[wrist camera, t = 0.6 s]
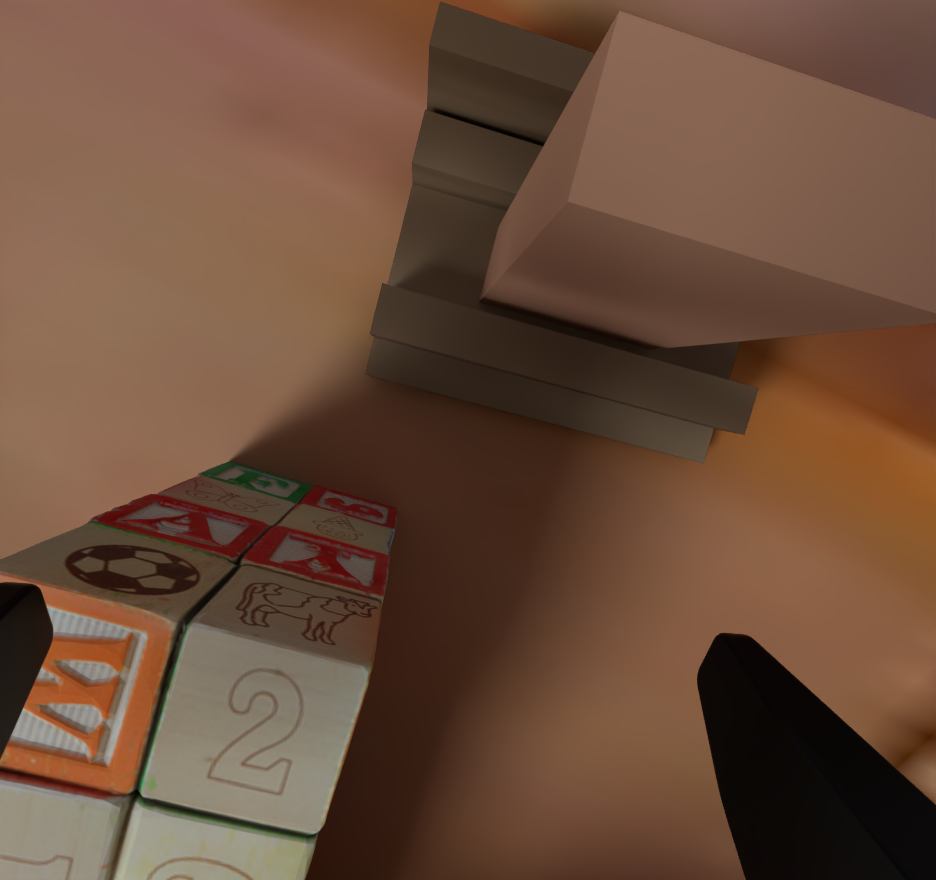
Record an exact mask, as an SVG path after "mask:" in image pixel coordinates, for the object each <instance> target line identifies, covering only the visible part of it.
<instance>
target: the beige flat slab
mask: <svg viewBox="0 0 936 880" xmlns="http://www.w3.org/2000/svg"><path fill="white" fill-rule="evenodd" d="M479 302H481V303H485V304H488V305H492V306H495V307H499V308H503V309H506V310H510V311H513V312H517V313H520V314H524V315H527V316H531V317H535V318H538V319H542V320H545V321H549V322H552V323H556V324H560V325H563V326H567V327H570V328H574V329H577V330H581V331H584V332H588V333H592V334H595V335H599V336H602V337H606V338H609V339H613V340H616V341H620V342H624V343H627V344H631V345H634V346H638V347H641V348H645V349H649V350H653V349H663V348H674V347H685V346H696V345H706V344H717V343H728V342H739V341H749V340H760V339H771V338H782V337H792V336H803V335H814V334H825V333H836V332H846V331H857V330H868V329H879V328H889V327H900V326H911V325H922V324H932V323H936V119H935V118H932V117H929V116H926V115H923V114H920V113H917V112H914V111H911V110H908V109H905V108H902V107H899V106H897V105H894V104H891V103H888V102H885V101H882V100H879V99H876V98H873V97H870V96H867V95H864V94H861V93H859V92H856V91H853V90H850V89H847V88H844V87H841V86H838V85H835V84H832V83H829V82H826V81H823V80H821V79H818V78H815V77H812V76H809V75H806V74H803V73H800V72H797V71H794V70H791V69H788V68H786V67H783V66H780V65H777V64H774V63H771V62H768V61H765V60H762V59H759V58H756V57H753V56H750V55H748V54H745V53H742V52H739V51H736V50H733V49H730V48H727V47H724V46H721V45H718V44H715V43H712V42H710V41H707V40H704V39H701V38H698V37H695V36H692V35H689V34H686V33H683V32H680V31H677V30H675V29H672V28H669V27H666V26H663V25H660V24H657V23H654V22H651V21H648V20H645V19H642V18H639V17H637V16H634V15H631V14H628V13H625V12H622V11H619V12H618V14H617V16H616V17H615V19H614V21H613V23H612V25H611V26H610V28H609V30H608V32H607V33H606V35H605V37H604V39H603V41H602V42H601V44H600V46H599V48H598V50H597V51H596V53H595V55H594V57H593V59H592V60H591V62H590V64H589V66H588V67H587V69H586V71H585V73H584V75H583V76H582V78H581V80H580V82H579V84H578V85H577V87H576V89H575V91H574V93H573V94H572V96H571V98H570V100H569V101H568V103H567V105H566V107H565V109H564V110H563V112H562V114H561V116H560V118H559V119H558V121H557V123H556V125H555V127H554V128H553V130H552V132H551V134H550V135H549V137H548V139H547V141H546V143H545V144H544V146H543V148H542V150H541V152H540V153H539V155H538V157H537V159H536V161H535V162H534V164H533V166H532V168H531V169H530V171H529V173H528V175H527V177H526V178H525V180H524V182H523V184H522V186H521V187H520V189H519V191H518V193H517V195H516V196H515V198H514V200H513V202H512V203H511V205H510V207H509V209H508V211H507V212H506V214H505V216H504V218H503V220H502V221H501V223H500V225H499V227H498V231H497V235H496V239H495V243H494V247H493V250H492V254H491V258H490V262H489V266H488V269H487V273H486V277H485V281H484V285H483V289H482V292H481V296H480V300H479Z"/></svg>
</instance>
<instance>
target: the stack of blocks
mask: <svg viewBox="0 0 936 880" xmlns="http://www.w3.org/2000/svg"><path fill="white" fill-rule="evenodd" d="M397 515H398V510H397V509H395V508H393V507H389V506H385V505H382V504H378V503H375V502H372V501H368V500H365V499H361V498H358V497H354V496H351V495H347V494H344V493H340V492H337V491H333V490H329V489H326V488H323V487H320V486H311V485H307V484H304V483H301V482H297V481H294V480H290V479H287V478H284V477H280V476H277V475H273V474H270V473H267V472H263V471H260V470H256V469H253V468H249V467H246V466H243V465H240V464H237V463H233V462H227V463H224V464H221V465H218V466H216V467H213V468H211V469H208V470H206V471H204V472H202V473H199V474H198V475H197V476H196V477H194V478H192V479H189V480H187V481H184V482H182V483H179V484H177V485H174V486H172V487H170V488H168V489H165V490H163V491H161V492H159V493H158V494H150V495H147V496H144V497H141V498H139V499H136V500H132V501H131V502H130V503H129V504H126V505H123V506H120V507H116V508H113V509H112V510H111V511H108V512H105V513H103V514H100V515H98V516H95V517H93V518H92V519H91V520H90V521H89V522H88V523H87V524H85V525H83V526H81V527H79V528H76V529H74V530H71V531H69V532H66V533H63V534H61V535H58V536H56V537H53V538H51V539H48V540H46V541H43V542H41V543H39V544H36V545H34V546H32V547H29V548H27V549H25V550H22V551H20V552H18V553H15V554H13V555H11V556H8V557H6V558H3V559H0V583H2V582H17V583H31V584H35V585H37V586H38V587H39V588H40V589H41V591H42V594H43V597H44V600H45V603H46V606H47V609H48V612H49V615H50V618H51V621H52V624H53V640H52V644H51V647H50V649H49V651H48V654H47V656H46V658H45V660H44V663H43V665H42V667H41V669H40V672H39V674H38V676H37V679H36V681H35V683H34V685H33V688H32V690H31V692H30V694H29V697H28V699H27V701H26V703H25V706H24V708H23V710H22V713H21V715H20V717H19V719H18V722H17V724H16V726H15V728H14V731H13V733H12V735H11V737H10V740H9V742H8V744H7V746H6V748H5V751H4V753H3V755H2V757H1V759H0V880H305V879H306V876H307V872H308V869H309V866H310V863H311V860H312V857H313V853H314V850H315V846H316V841H317V837H318V832H319V831H320V830H321V829H322V827H323V826H324V824H325V821H326V818H327V815H328V812H329V808H330V805H331V802H332V799H333V796H334V793H335V789H336V786H337V783H338V780H339V777H340V774H341V770H342V767H343V764H344V761H345V758H346V755H347V752H348V749H349V745H350V742H351V739H352V736H353V733H354V730H355V727H356V724H357V721H358V717H359V714H360V711H361V708H362V704H363V701H364V698H365V695H366V691H367V688H368V685H369V681H370V677H371V673H372V669H373V666H374V659H375V653H376V646H377V638H378V632H379V627H380V619H381V607H382V604H383V600H384V597H385V591H386V586H387V581H388V572H389V564H390V556H389V555H390V548H391V545H392V542H393V538H394V535H395V529H396V520H397Z"/></svg>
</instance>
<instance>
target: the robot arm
mask: <svg viewBox="0 0 936 880" xmlns="http://www.w3.org/2000/svg"><path fill="white" fill-rule="evenodd" d="M52 640H53V624H52V621H51V618H50V615H49V612H48V609H47V606H46V603H45V600H44V597H43V594H42V591H41V589H40V588H39V587H38V586H37V585H35V584H31V583H17V582H2V583H0V759H1V757H2V755H3V753H4V751H5V748H6V746H7V744H8V742H9V740H10V737H11V735H12V733H13V731H14V728H15V726H16V724H17V722H18V719H19V717H20V715H21V713H22V710H23V708H24V706H25V703H26V701H27V699H28V697H29V694H30V692H31V690H32V688H33V685H34V683H35V681H36V679H37V676H38V674H39V672H40V669H41V667H42V665H43V663H44V660H45V658H46V656H47V654H48V651H49V649H50V647H51V644H52ZM697 685H698V691H699V696H700V701H701V706H702V711H703V716H704V720H705V725H706V730H707V735H708V740H709V745H710V750H711V755H712V760H713V764H714V769H715V774H716V779H717V783H718V788H719V792H720V796H721V800H722V803H723V807H724V810H725V814H726V817H727V821H728V824H729V827H730V830H731V833H732V837H733V840H734V843H735V846H736V850H737V853H738V856H739V859H740V863H741V866H742V869H743V872H744V875H745V879H746V880H936V805H935V804H934V803H933V802H932V801H931V800H930V799H929V798H928V797H927V796H925V795H924V794H923V793H922V792H921V791H920V790H919V789H918V788H917V787H916V786H915V785H913V784H912V783H911V782H910V781H909V780H908V779H907V778H906V777H905V776H904V775H902V774H901V773H900V772H899V771H898V770H897V769H896V768H895V767H894V766H893V765H891V764H890V763H889V762H888V761H887V760H886V759H885V758H884V757H883V756H882V755H880V754H879V753H878V752H877V751H876V750H875V749H874V748H873V747H872V746H871V745H869V744H868V743H867V742H866V741H865V740H864V739H863V738H862V737H861V736H860V735H858V734H857V733H856V732H855V731H854V730H853V729H852V728H851V727H850V726H849V725H848V724H846V723H845V722H844V721H843V720H842V719H841V718H840V717H839V716H838V715H837V714H835V713H834V712H833V711H832V710H831V709H830V708H829V707H828V706H827V705H826V704H824V703H823V702H822V701H821V700H820V699H819V698H818V697H817V696H816V695H815V694H813V693H812V692H811V691H810V690H809V689H808V688H807V687H806V686H805V685H804V684H802V683H801V682H800V681H799V680H798V679H797V678H796V677H795V676H794V675H793V674H791V673H790V672H789V671H788V670H787V669H786V668H785V667H784V666H783V665H782V664H781V663H779V662H778V661H777V660H776V659H775V658H774V657H773V656H772V655H771V654H770V653H768V652H767V651H766V650H765V649H764V648H763V647H762V646H761V645H760V644H759V643H757V642H756V641H755V640H754V639H753V638H751V637H750V636H747V635H744V634H732V633H720V634H719V635H717V636H716V637H715V638H714V640H713V642H712V644H711V646H710V648H709V650H708V652H707V654H706V656H705V658H704V660H703V662H702V664H701V666H700V668H699V671H698V675H697Z"/></svg>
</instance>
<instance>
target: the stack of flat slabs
mask: <svg viewBox="0 0 936 880" xmlns="http://www.w3.org/2000/svg"><path fill="white" fill-rule="evenodd" d="M594 55H595V53H593V52H590V51H587V50H584V49H581V48H578V47H575V46H572V45H569V44H566V43H563V42H560V41H557V40H554V39H551V38H548V37H545V36H542V35H539V34H536V33H533V32H530V31H527V30H524V29H521V28H518V27H515V26H512V25H509V24H506V23H503V22H500V21H497V20H494V19H491V18H488V17H485V16H482V15H479V14H476V13H473V12H470V11H467V10H464V9H461V8H458V7H455V6H452V5H449V4H446V3H443V2H440V4H439V8H438V12H437V16H436V20H435V24H434V28H433V32H432V36H431V41H430V45H429V69H428V97H427V110H425V113H424V117H423V121H422V125H421V129H420V133H419V137H418V141H417V145H416V149H415V153H414V157H413V161H412V178H413V185H412V189H411V193H410V197H409V201H408V205H407V209H406V213H405V217H404V221H403V225H402V229H401V233H400V237H399V241H398V245H397V249H396V253H395V257H394V261H393V265H392V269H391V273H390V277H389V281H388V285H387V284H383V283H382V286H381V291H380V295H379V299H378V303H377V307H376V311H375V315H374V319H373V323H372V327H371V331H370V334H371V335H372V336H374V337H375V338H374V342H373V346H372V350H371V354H370V358H369V362H368V366H367V370H366V374H365V375H369V376H372V377H376V378H380V379H384V380H388V381H391V382H395V383H399V384H403V385H407V386H410V387H414V388H418V389H422V390H426V391H429V392H433V393H437V394H441V395H445V396H449V397H452V398H456V399H460V400H464V401H468V402H471V403H475V404H479V405H483V406H487V407H490V408H494V409H498V410H502V411H506V412H509V413H513V414H517V415H521V416H525V417H529V418H532V419H536V420H540V421H544V422H548V423H551V424H555V425H559V426H563V427H567V428H570V429H574V430H578V431H582V432H586V433H590V434H593V435H597V436H601V437H605V438H609V439H612V440H616V441H620V442H624V443H628V444H631V445H635V446H639V447H643V448H647V449H650V450H654V451H658V452H662V453H666V454H670V455H673V456H677V457H681V458H685V459H689V460H692V461H696V462H700V463H704V460H705V457H706V454H707V450H708V447H709V444H710V440H711V437H712V434H713V430H714V429H718V430H723V431H728V432H733V433H738V434H743V435H745V431H746V428H747V425H748V421H749V418H750V415H751V412H752V408H753V405H754V402H755V399H756V395H757V392H758V389H759V388H756V387H752V386H748V385H745V384H741V383H738V382H734V381H730V380H729V377H730V374H731V371H732V367H733V364H734V361H735V357H736V354H737V351H738V347H739V344H740V341H739V342H728V343H717V344H706V345H696V346H685V347H674V348H663V349H653V350H649V349H645V348H641V347H638V346H634V345H631V344H627V343H624V342H620V341H616V340H613V339H609V338H606V337H602V336H599V335H595V334H592V333H588V332H584V331H581V330H577V329H574V328H570V327H567V326H563V325H560V324H556V323H552V322H549V321H545V320H542V319H538V318H535V317H531V316H527V315H524V314H520V313H517V312H513V311H510V310H506V309H503V308H499V307H495V306H492V305H488V304H485V303H481V302H479V300H480V296H481V292H482V289H483V285H484V281H485V277H486V273H487V269H488V266H489V262H490V258H491V254H492V250H493V247H494V243H495V239H496V235H497V231H498V227H499V225H500V223H501V221H502V220H503V218H504V216H505V214H506V212H507V211H508V209H509V207H510V205H511V203H512V202H513V200H514V198H515V196H516V195H517V193H518V191H519V189H520V187H521V186H522V184H523V182H524V180H525V178H526V177H527V175H528V173H529V171H530V169H531V168H532V166H533V164H534V162H535V161H536V159H537V157H538V155H539V153H540V152H541V150H542V148H543V146H544V144H545V143H546V141H547V139H548V137H549V135H550V134H551V132H552V130H553V128H554V127H555V125H556V123H557V121H558V119H559V118H560V116H561V114H562V112H563V110H564V109H565V107H566V105H567V103H568V101H569V100H570V98H571V96H572V94H573V93H574V91H575V89H576V87H577V85H578V84H579V82H580V80H581V78H582V76H583V75H584V73H585V71H586V69H587V67H588V66H589V64H590V62H591V60H592V59H593V57H594Z"/></svg>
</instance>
